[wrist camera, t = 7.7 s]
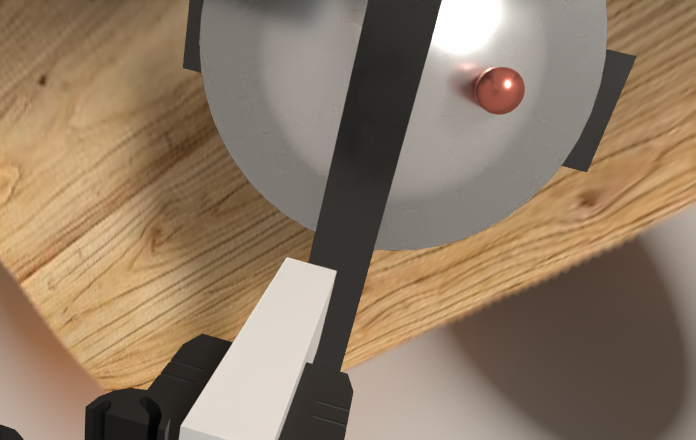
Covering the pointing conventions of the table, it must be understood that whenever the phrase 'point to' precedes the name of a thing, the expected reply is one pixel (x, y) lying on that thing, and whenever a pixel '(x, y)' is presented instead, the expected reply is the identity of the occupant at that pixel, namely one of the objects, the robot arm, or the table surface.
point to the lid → (397, 117)
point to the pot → (590, 137)
